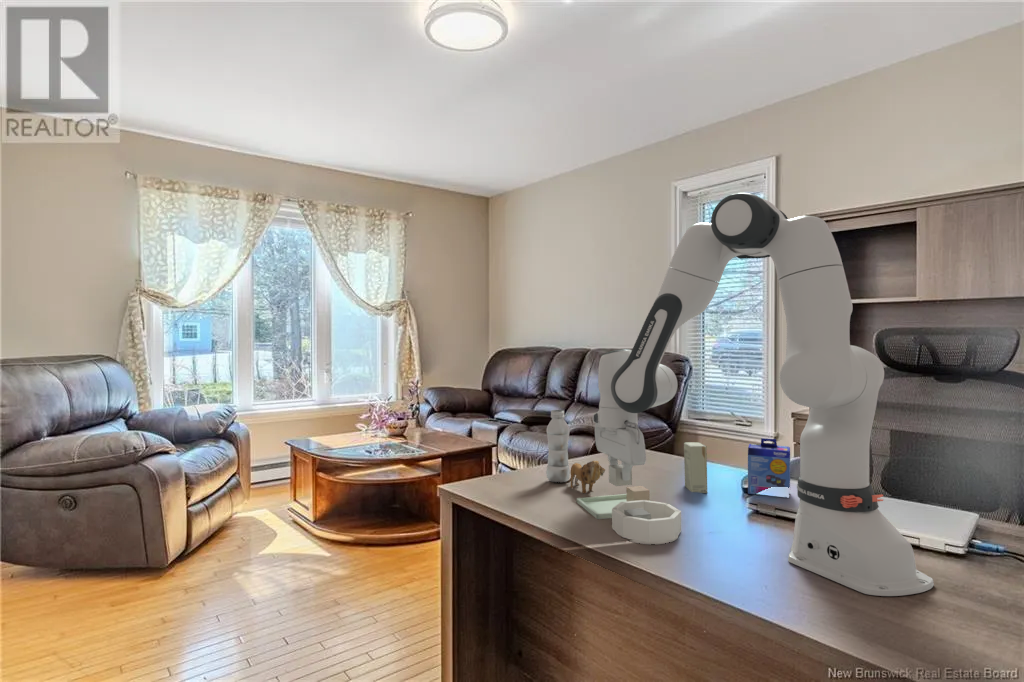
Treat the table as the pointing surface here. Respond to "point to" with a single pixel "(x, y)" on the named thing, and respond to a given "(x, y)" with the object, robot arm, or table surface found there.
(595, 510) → the tray
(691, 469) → the skincare box
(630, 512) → the gray cube
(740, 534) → the table surface
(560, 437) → the plastic bottle
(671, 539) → the bowl
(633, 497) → the tan cube
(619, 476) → the pale grey cube
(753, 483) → the ink cartridge box
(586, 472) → the lion figurine
